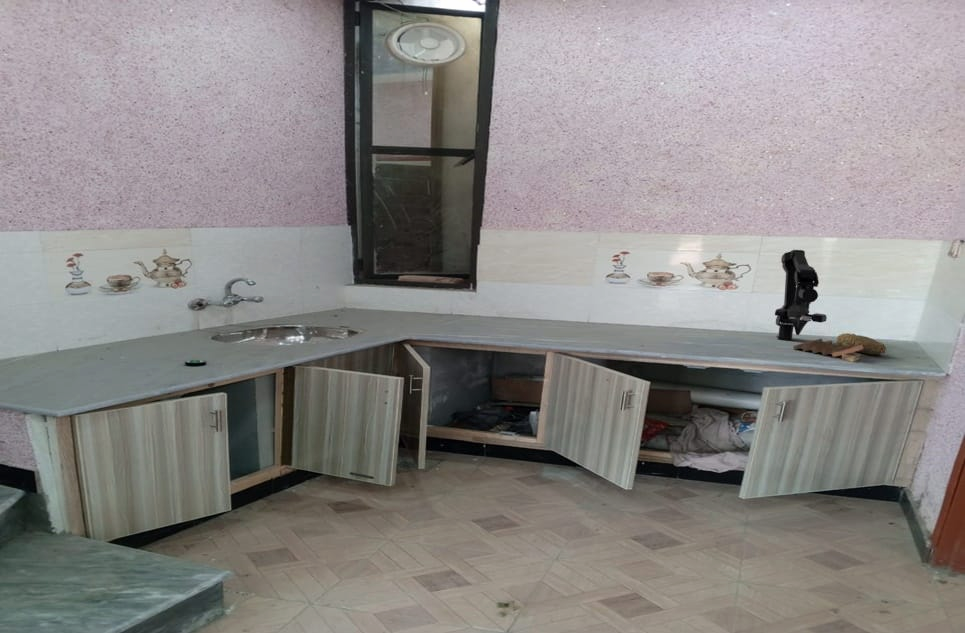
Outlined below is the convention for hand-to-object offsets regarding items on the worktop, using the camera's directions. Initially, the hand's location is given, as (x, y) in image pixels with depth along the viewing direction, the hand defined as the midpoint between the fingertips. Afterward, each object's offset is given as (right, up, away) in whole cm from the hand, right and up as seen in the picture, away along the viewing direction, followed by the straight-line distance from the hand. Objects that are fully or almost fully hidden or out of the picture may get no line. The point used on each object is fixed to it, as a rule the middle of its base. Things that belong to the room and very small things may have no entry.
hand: (797, 335), depth 249 cm
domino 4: (+7, -7, -7) cm, 12 cm away
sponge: (+27, -7, 0) cm, 28 cm away
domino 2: (+2, -6, -2) cm, 7 cm away
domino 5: (+10, -8, -10) cm, 16 cm away
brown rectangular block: (0, -5, +1) cm, 5 cm away
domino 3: (+5, -6, -5) cm, 9 cm away
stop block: (+14, -9, -14) cm, 22 cm away
